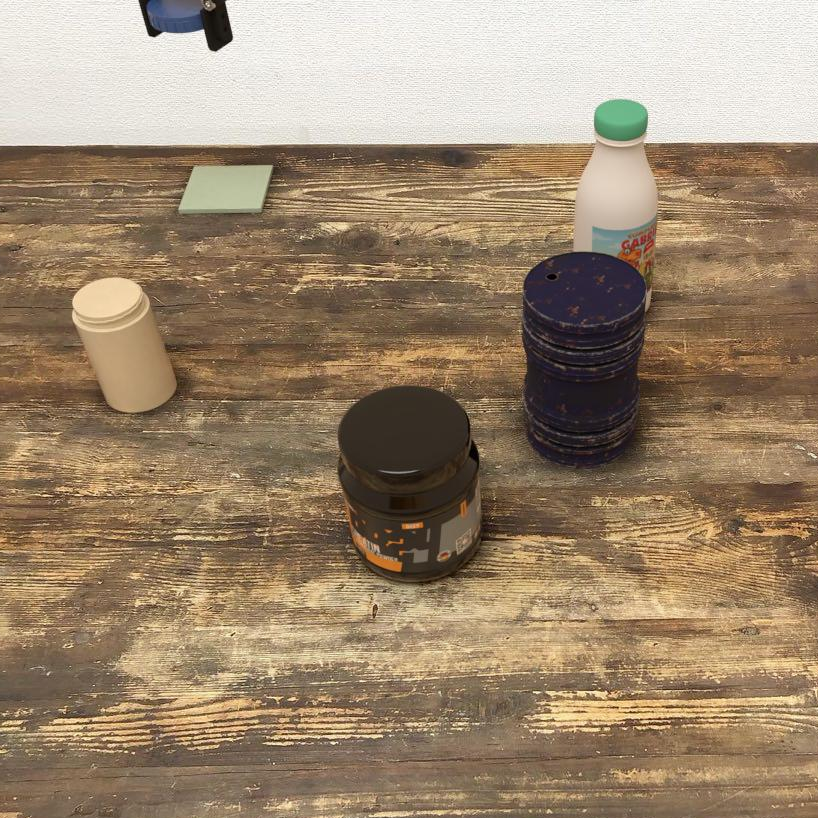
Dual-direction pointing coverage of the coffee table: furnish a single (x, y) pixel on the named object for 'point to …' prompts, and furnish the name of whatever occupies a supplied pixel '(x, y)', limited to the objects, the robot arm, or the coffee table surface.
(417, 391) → the supplement container
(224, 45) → the robot arm
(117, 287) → the beige jar
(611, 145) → the milk bottle
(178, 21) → the lid
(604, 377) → the storage jar
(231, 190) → the tile
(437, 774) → the coffee table surface
